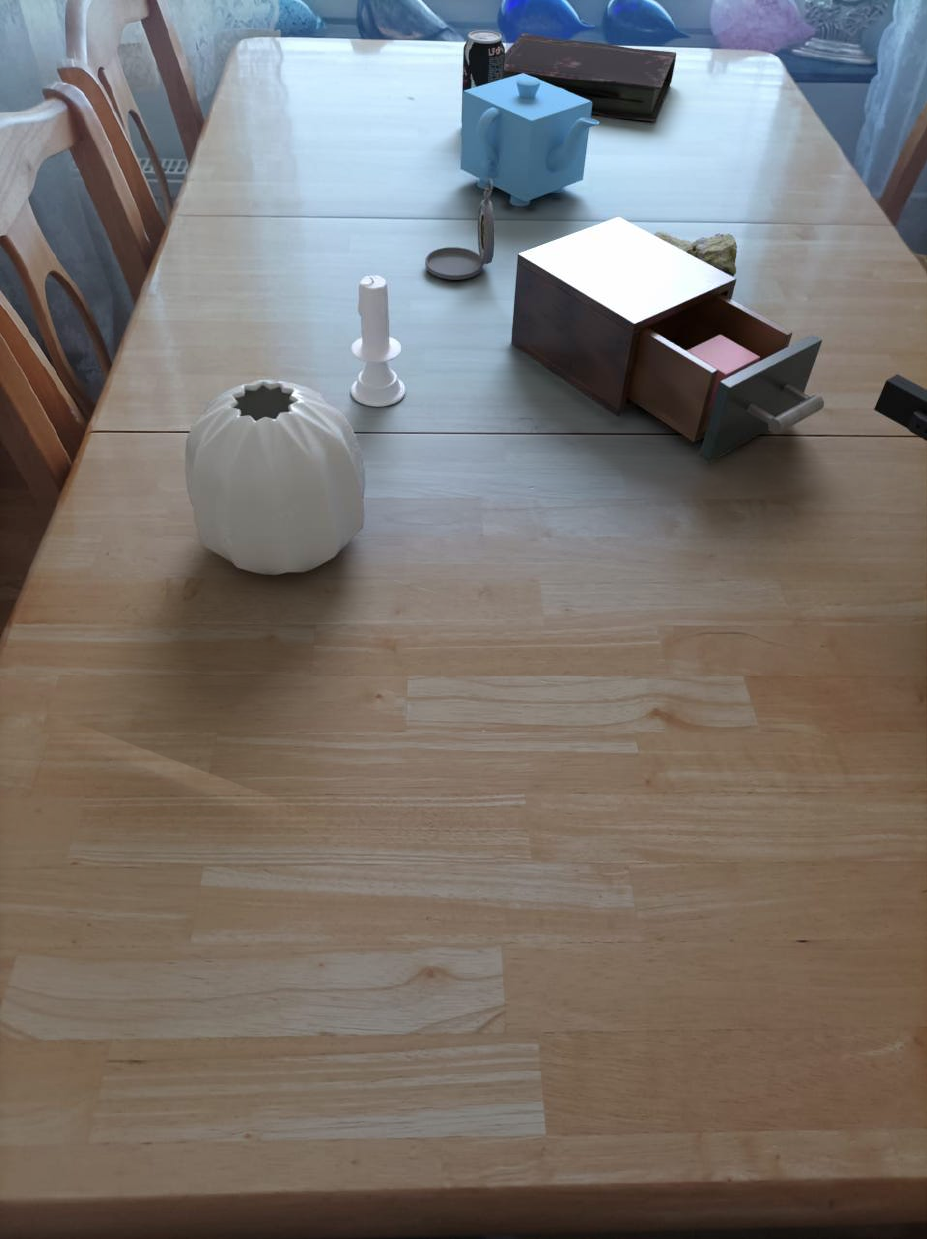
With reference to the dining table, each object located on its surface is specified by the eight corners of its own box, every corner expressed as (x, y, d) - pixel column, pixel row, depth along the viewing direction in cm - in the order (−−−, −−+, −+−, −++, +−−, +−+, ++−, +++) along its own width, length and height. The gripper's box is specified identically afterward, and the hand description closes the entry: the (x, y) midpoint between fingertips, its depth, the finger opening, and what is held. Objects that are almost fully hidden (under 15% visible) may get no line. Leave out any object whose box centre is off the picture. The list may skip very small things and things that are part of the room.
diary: (520, 63, 155) (523, 29, 151) (671, 83, 151) (677, 48, 147) (491, 103, 143) (493, 66, 139) (654, 125, 138) (660, 88, 135)
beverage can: (462, 119, 138) (464, 27, 129) (500, 121, 138) (506, 29, 129) (460, 135, 134) (462, 40, 125) (500, 137, 134) (505, 42, 125)
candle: (368, 413, 89) (361, 296, 80) (341, 386, 92) (331, 270, 83) (416, 396, 91) (414, 281, 82) (388, 370, 94) (383, 255, 85)
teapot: (445, 186, 123) (447, 78, 113) (530, 156, 130) (538, 52, 120) (542, 237, 114) (552, 125, 104) (627, 202, 121) (644, 94, 111)
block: (747, 401, 88) (760, 356, 85) (713, 419, 86) (726, 374, 83) (708, 378, 91) (720, 333, 87) (675, 395, 89) (685, 350, 85)
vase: (252, 467, 83) (229, 332, 73) (396, 509, 80) (391, 373, 70) (164, 568, 74) (124, 430, 64) (321, 619, 71) (305, 482, 61)
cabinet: (713, 368, 96) (736, 278, 88) (617, 416, 90) (634, 324, 82) (605, 303, 104) (618, 216, 96) (510, 343, 98) (517, 253, 90)
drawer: (830, 433, 87) (859, 359, 81) (742, 485, 82) (767, 410, 76) (683, 345, 97) (699, 273, 91) (595, 387, 91) (607, 313, 85)
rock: (646, 259, 113) (631, 285, 106) (658, 204, 109) (644, 227, 102) (734, 278, 111) (726, 306, 104) (750, 223, 107) (743, 247, 100)
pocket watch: (413, 266, 108) (412, 177, 101) (469, 245, 112) (472, 158, 104) (459, 295, 104) (461, 205, 97) (515, 272, 108) (521, 184, 100)
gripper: (1112, 641, 62) (819, 460, 74) (1198, 559, 67) (913, 403, 79) (1181, 559, 56) (852, 378, 68) (1268, 477, 62) (950, 323, 74)
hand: (885, 392), depth 74 cm, fingers closed
